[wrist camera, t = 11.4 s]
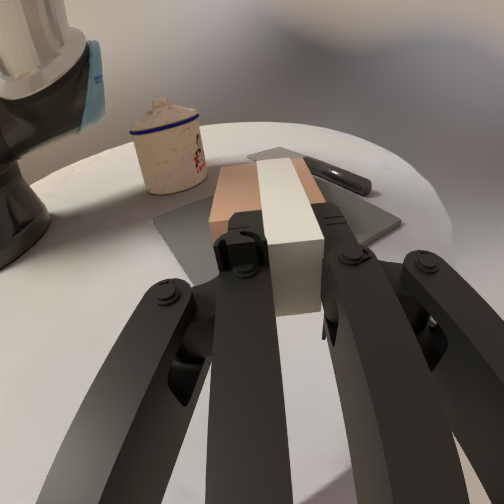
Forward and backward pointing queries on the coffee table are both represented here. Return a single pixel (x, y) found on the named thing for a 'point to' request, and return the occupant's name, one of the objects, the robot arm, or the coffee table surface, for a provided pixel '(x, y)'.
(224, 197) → the tile
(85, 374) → the coffee table surface
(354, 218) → the mat
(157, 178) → the teacup with lid
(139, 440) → the robot arm
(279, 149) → the turner
